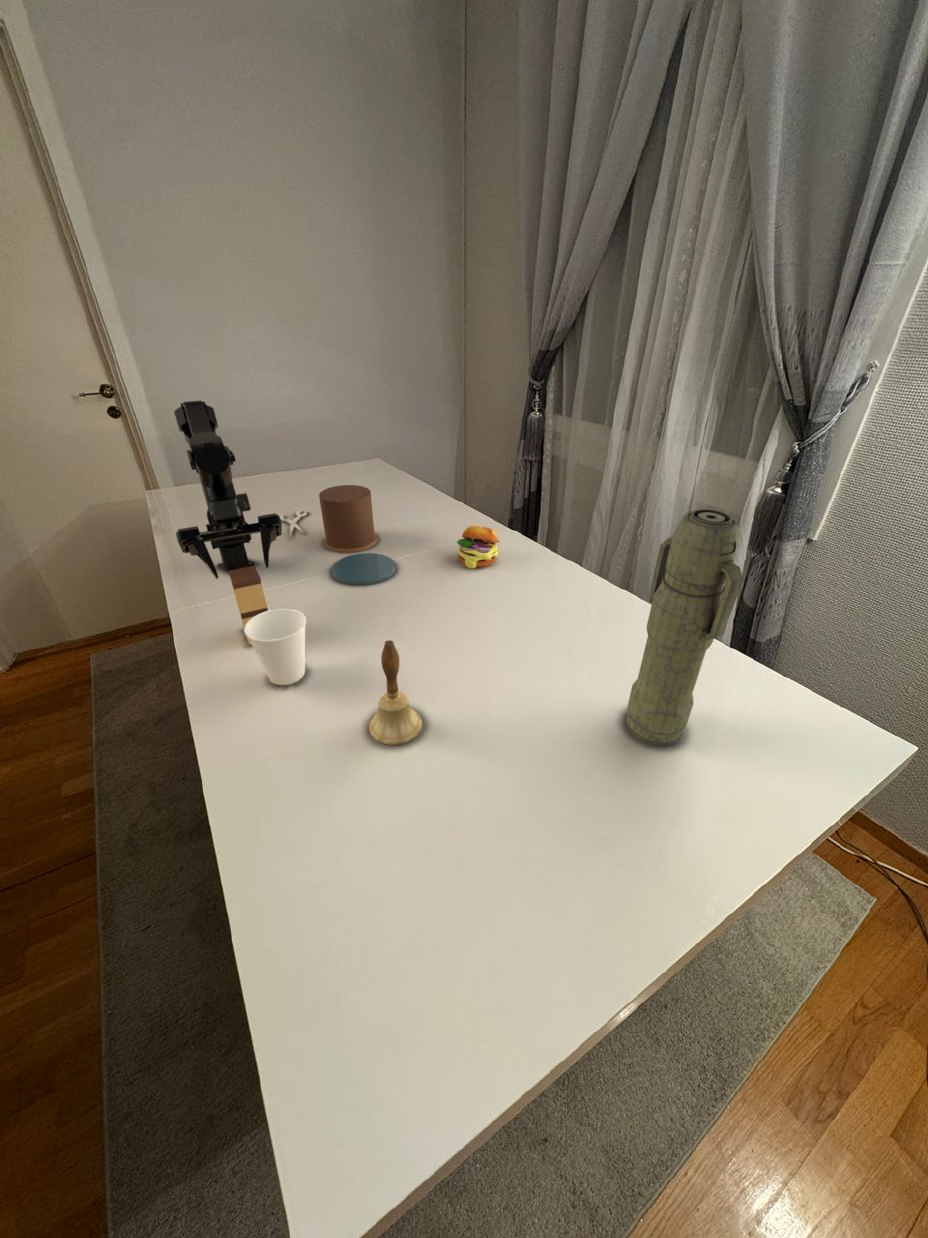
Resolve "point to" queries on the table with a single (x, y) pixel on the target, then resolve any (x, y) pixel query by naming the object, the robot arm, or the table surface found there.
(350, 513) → the cake
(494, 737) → the table surface
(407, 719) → the hand bell
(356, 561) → the plate
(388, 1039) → the table surface
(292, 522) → the scissors
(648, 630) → the thermos
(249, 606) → the cake slice
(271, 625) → the cup
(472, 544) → the cheeseburger
